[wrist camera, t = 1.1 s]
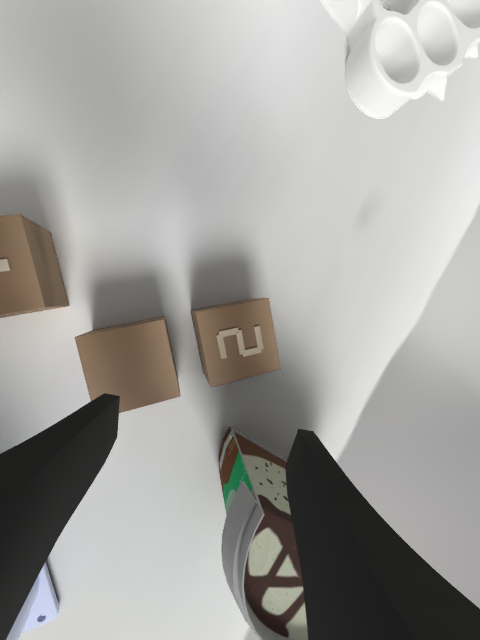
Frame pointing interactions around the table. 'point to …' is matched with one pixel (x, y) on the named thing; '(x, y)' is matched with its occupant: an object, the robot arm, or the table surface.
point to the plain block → (130, 363)
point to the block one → (28, 268)
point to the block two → (236, 340)
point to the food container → (260, 540)
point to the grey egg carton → (404, 48)
